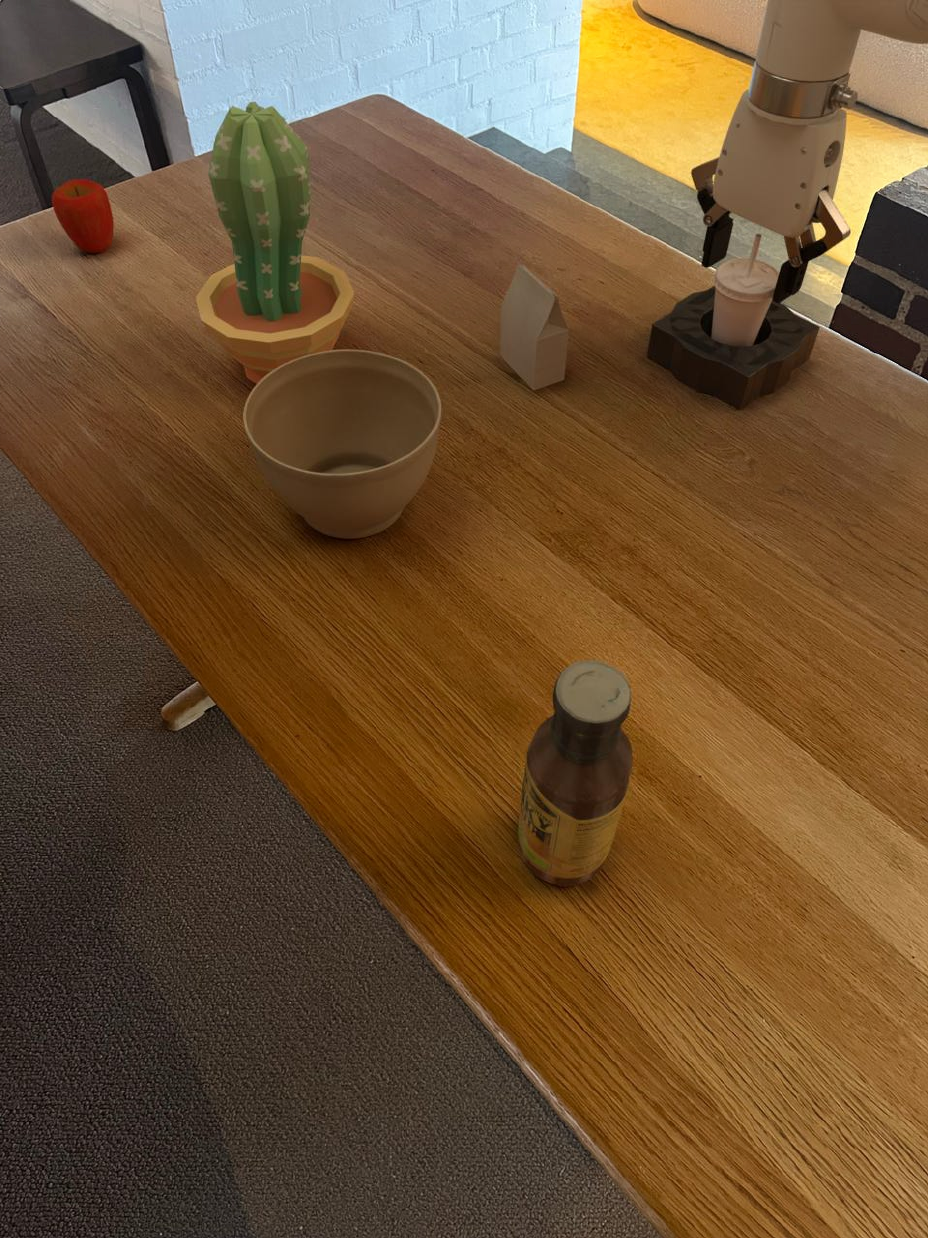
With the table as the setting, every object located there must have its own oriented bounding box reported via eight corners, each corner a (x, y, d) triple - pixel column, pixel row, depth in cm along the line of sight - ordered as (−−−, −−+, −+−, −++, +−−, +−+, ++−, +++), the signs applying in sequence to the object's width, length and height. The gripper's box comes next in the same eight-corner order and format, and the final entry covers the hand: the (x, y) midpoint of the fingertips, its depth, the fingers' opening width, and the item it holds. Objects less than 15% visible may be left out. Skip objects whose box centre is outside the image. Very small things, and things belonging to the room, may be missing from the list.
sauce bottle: (512, 810, 67) (526, 637, 52) (600, 805, 68) (640, 630, 52) (522, 898, 63) (539, 738, 48) (615, 892, 64) (663, 731, 48)
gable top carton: (533, 390, 97) (539, 303, 89) (499, 355, 100) (502, 268, 93) (564, 379, 98) (572, 292, 90) (529, 345, 102) (534, 258, 94)
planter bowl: (382, 595, 80) (372, 501, 71) (228, 527, 85) (201, 431, 76) (475, 479, 89) (476, 383, 80) (330, 424, 94) (317, 328, 85)
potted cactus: (388, 343, 102) (370, 96, 82) (308, 428, 93) (267, 174, 74) (267, 305, 106) (223, 62, 87) (181, 383, 98) (110, 132, 78)
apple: (64, 240, 115) (42, 178, 109) (115, 228, 117) (97, 167, 111) (74, 266, 111) (52, 203, 106) (127, 254, 113) (108, 192, 107)
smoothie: (692, 371, 99) (720, 244, 88) (701, 335, 103) (729, 210, 92) (755, 382, 98) (791, 255, 87) (762, 346, 101) (797, 220, 90)
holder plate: (715, 306, 106) (723, 273, 103) (818, 359, 100) (829, 326, 97) (637, 356, 100) (642, 323, 97) (741, 416, 94) (750, 383, 91)
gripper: (914, 106, 77) (847, 301, 91) (737, 43, 85) (700, 231, 99) (863, 136, 74) (801, 333, 87) (684, 68, 82) (653, 258, 95)
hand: (748, 278), depth 93 cm, fingers open, 7 cm apart
